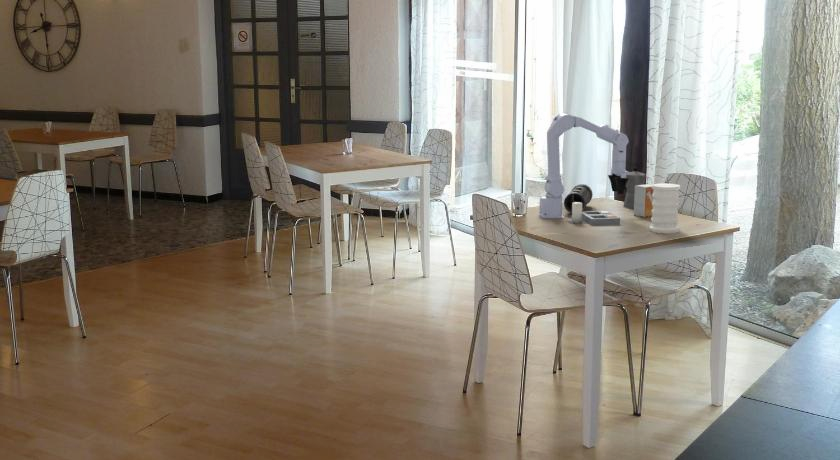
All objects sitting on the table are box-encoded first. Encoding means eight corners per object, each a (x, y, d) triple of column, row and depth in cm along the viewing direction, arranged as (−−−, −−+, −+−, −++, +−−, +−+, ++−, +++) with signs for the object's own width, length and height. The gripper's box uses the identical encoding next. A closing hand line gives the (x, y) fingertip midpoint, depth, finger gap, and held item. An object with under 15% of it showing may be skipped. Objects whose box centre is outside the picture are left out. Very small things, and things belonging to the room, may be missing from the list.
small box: (644, 217, 397) (645, 187, 395) (633, 215, 402) (634, 185, 400) (657, 215, 402) (658, 185, 400) (645, 213, 407) (646, 183, 405)
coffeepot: (652, 207, 421) (653, 168, 418) (637, 209, 416) (638, 169, 413) (627, 203, 434) (628, 164, 430) (612, 205, 429) (613, 166, 425)
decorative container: (674, 227, 375) (676, 183, 372) (683, 233, 364) (685, 187, 361) (645, 227, 375) (647, 183, 372) (653, 233, 364) (655, 187, 360)
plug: (573, 223, 383) (573, 203, 381) (570, 221, 387) (571, 202, 385) (582, 222, 383) (583, 203, 382) (580, 221, 387) (580, 202, 386)
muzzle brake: (562, 215, 403) (563, 191, 401) (571, 205, 430) (572, 182, 428) (585, 216, 401) (585, 192, 399) (592, 206, 427) (593, 183, 425)
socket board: (591, 226, 379) (591, 218, 378) (578, 218, 396) (579, 210, 396) (619, 225, 380) (620, 217, 379) (606, 217, 397) (606, 210, 397)
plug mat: (570, 225, 381) (570, 223, 381) (566, 222, 388) (566, 220, 388) (587, 224, 382) (587, 223, 382) (582, 221, 389) (582, 220, 389)
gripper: (633, 162, 391) (632, 195, 393) (622, 158, 405) (621, 189, 407) (617, 163, 390) (616, 195, 392) (606, 159, 404) (605, 190, 407)
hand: (617, 192), depth 400 cm, fingers open, 7 cm apart
